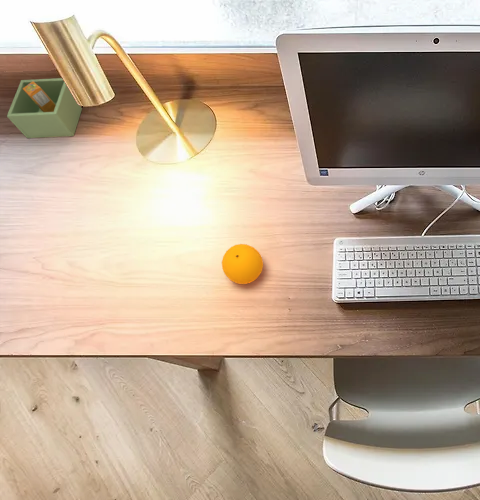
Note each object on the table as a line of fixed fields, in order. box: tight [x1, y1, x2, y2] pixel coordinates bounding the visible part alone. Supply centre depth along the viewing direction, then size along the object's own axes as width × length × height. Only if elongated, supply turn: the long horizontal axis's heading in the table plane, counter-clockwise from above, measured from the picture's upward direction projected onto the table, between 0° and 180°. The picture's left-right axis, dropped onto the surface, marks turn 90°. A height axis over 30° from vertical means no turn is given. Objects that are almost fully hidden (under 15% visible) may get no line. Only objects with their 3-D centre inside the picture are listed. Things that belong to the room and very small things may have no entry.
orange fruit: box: [221, 243, 264, 285], centre depth 97 cm, size 8×8×8 cm
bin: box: [6, 77, 83, 139], centre depth 119 cm, size 12×12×8 cm
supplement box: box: [23, 81, 56, 112], centre depth 118 cm, size 3×3×10 cm
